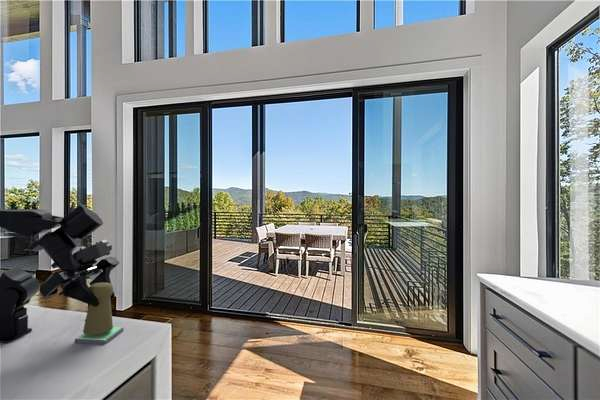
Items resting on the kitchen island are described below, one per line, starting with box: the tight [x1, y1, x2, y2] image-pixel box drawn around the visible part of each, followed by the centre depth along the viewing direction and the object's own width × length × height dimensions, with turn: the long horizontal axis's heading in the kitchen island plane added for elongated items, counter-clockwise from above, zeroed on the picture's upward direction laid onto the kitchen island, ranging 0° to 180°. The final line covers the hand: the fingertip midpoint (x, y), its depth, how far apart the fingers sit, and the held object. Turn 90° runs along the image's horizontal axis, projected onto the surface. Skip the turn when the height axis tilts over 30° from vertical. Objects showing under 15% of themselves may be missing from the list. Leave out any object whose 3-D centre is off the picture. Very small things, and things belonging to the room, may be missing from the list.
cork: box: [82, 282, 114, 335], centre depth 76 cm, size 6×6×11 cm
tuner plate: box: [74, 326, 124, 345], centre depth 76 cm, size 7×7×1 cm
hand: (105, 301), depth 75 cm, fingers closed on cork, 5 cm apart
